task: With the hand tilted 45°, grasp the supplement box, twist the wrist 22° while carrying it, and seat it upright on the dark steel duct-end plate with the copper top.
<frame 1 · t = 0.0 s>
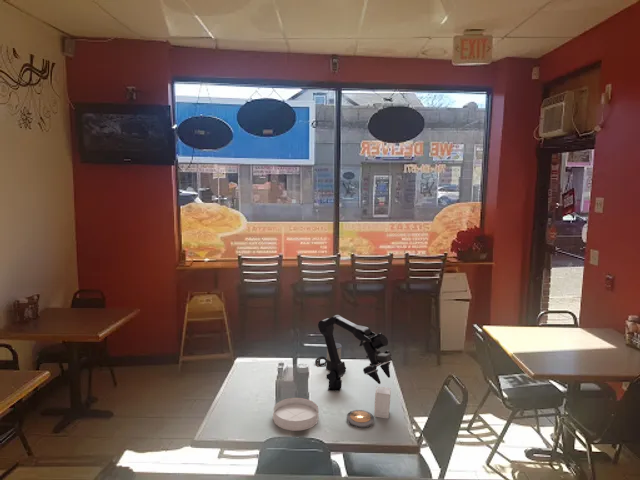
hand: (384, 380, 233), 15 cm above the table, tool tilted 35°, fingers open, 9 cm apart
supplement box: (381, 414, 229), on the table
milk frother: (327, 366, 282), on the table
dish: (295, 418, 224), on the table
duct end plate: (360, 420, 223), on the table
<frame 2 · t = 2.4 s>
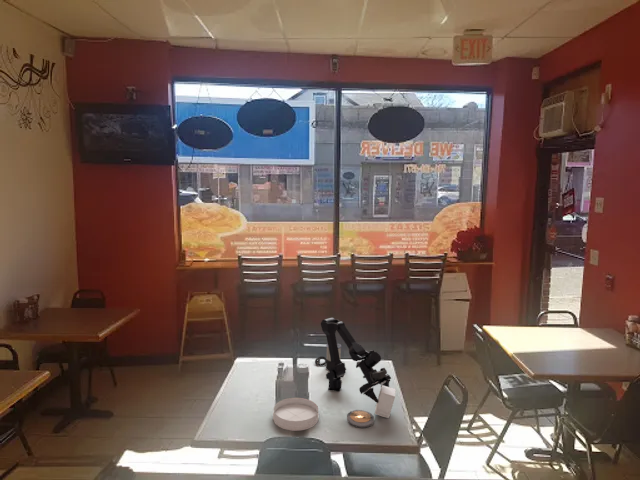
hand: (384, 399, 227), 8 cm above the table, tool tilted 45°, fingers closed on supplement box, 9 cm apart
supplement box: (382, 412, 229), point 1 cm above the table, touching gripper
everything else where it was.
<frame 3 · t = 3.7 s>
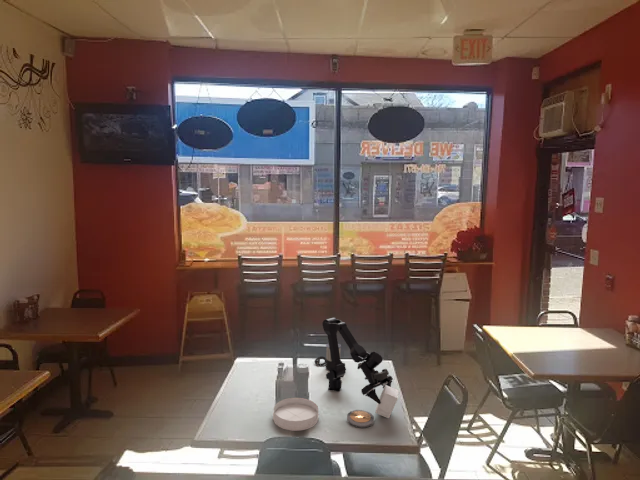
hand: (386, 400, 227), 8 cm above the table, tool tilted 50°, fingers closed on supplement box, 9 cm apart
supplement box: (382, 411, 229), point 1 cm above the table, touching gripper
everything else where it was.
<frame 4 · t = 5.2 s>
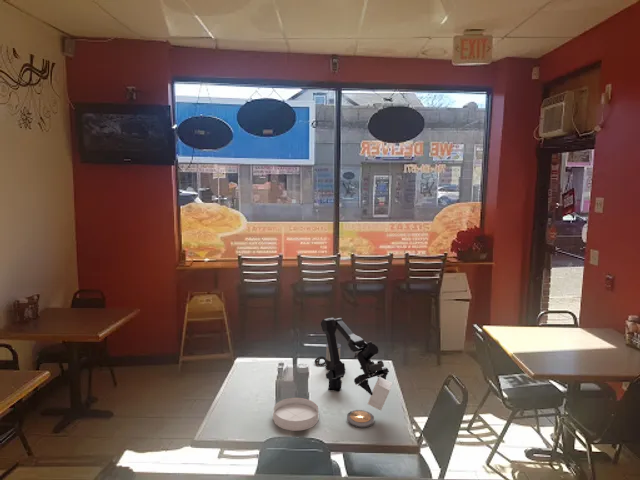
hand: (379, 392, 224), 13 cm above the table, tool tilted 45°, fingers closed on supplement box, 9 cm apart
supplement box: (375, 403, 226), point 7 cm above the table, touching gripper
everything else where it was.
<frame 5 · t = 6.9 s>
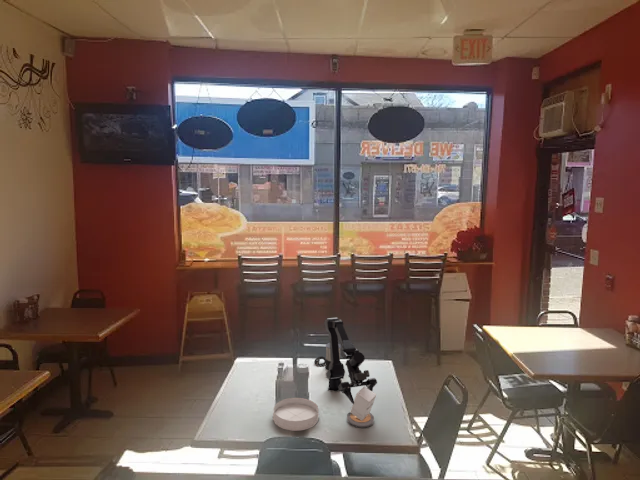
hand: (362, 402, 220), 10 cm above the table, tool tilted 45°, fingers closed on supplement box, 9 cm apart
supplement box: (359, 413, 223), point 3 cm above the table, touching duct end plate, gripper
everything else where it was.
when the fingers open (10 cm above the table, at t = 8.2 s): supplement box stays where it is, resting on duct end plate.
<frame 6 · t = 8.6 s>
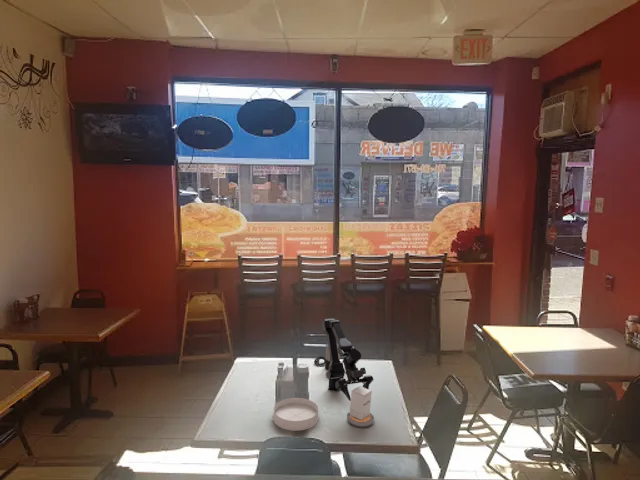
hand: (358, 399, 224), 10 cm above the table, tool tilted 45°, fingers open, 9 cm apart
supplement box: (359, 415, 223), point 2 cm above the table, touching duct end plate
everything else where it was.
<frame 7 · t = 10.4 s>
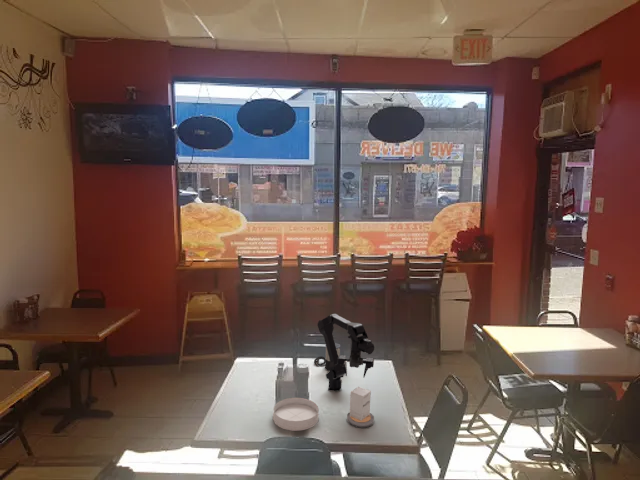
hand: (355, 376, 240), 13 cm above the table, tool pointing down, fingers open, 9 cm apart
nothing on the table moved.
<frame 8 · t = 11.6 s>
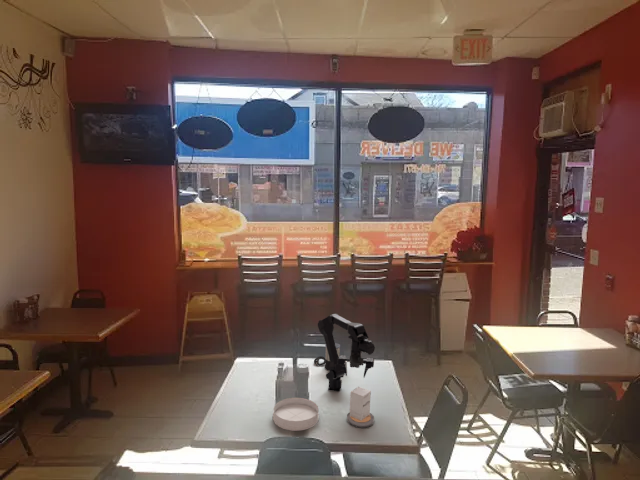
hand: (355, 376, 240), 13 cm above the table, tool pointing down, fingers open, 9 cm apart
nothing on the table moved.
at the end: supplement box 0.9 cm off-centre on the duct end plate, point 1.9 cm above the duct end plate's base; supplement box tilted 0°; the gripper is holding nothing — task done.
